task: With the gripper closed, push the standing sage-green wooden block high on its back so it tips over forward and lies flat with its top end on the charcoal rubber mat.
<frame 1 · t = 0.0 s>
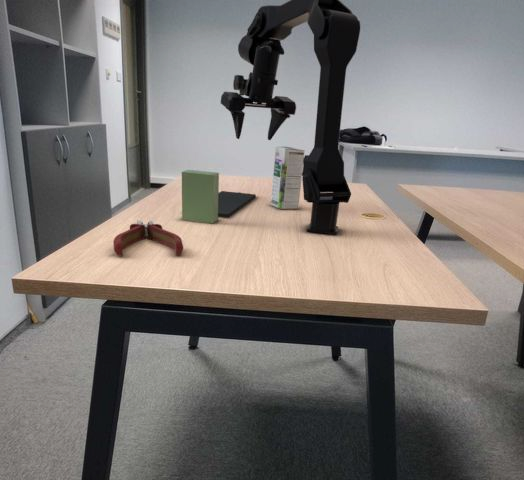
hand: (253, 139, 123), 15 cm above the table, tool pointing down, fingers open, 9 cm apart
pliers: (155, 243, 86), on the table
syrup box: (284, 207, 124), on the table
charcoal mat: (224, 204, 122), on the table
sage block: (200, 219, 105), on the table
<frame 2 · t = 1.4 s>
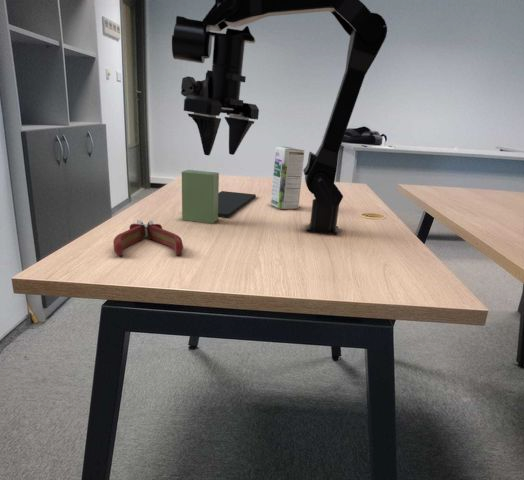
hand: (219, 154, 97), 14 cm above the table, tool pointing down, fingers open, 9 cm apart
nothing on the table moved.
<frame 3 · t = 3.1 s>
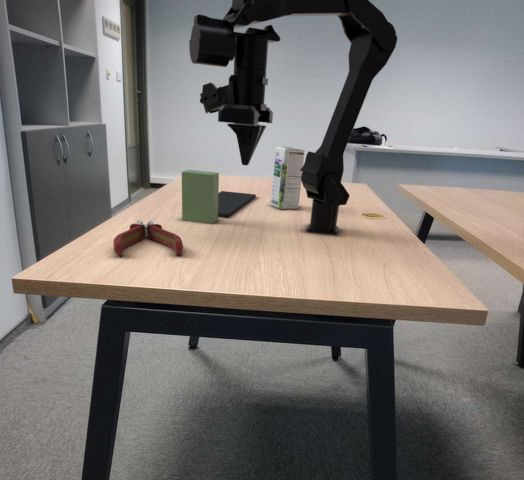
hand: (245, 165, 90), 13 cm above the table, tool pointing down, fingers closed
nothing on the table moved.
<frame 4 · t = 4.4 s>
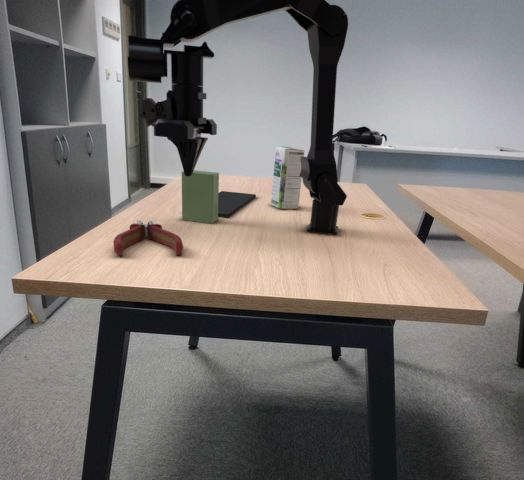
hand: (188, 175, 93), 10 cm above the table, tool pointing down, fingers closed
nothing on the table moved.
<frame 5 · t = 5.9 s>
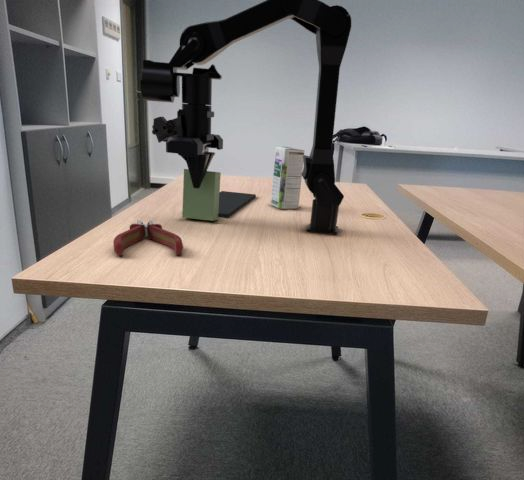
hand: (196, 188, 99), 7 cm above the table, tool pointing down, fingers closed
sage block: (200, 218, 104), on the table, tilted 8°
everything else where it was.
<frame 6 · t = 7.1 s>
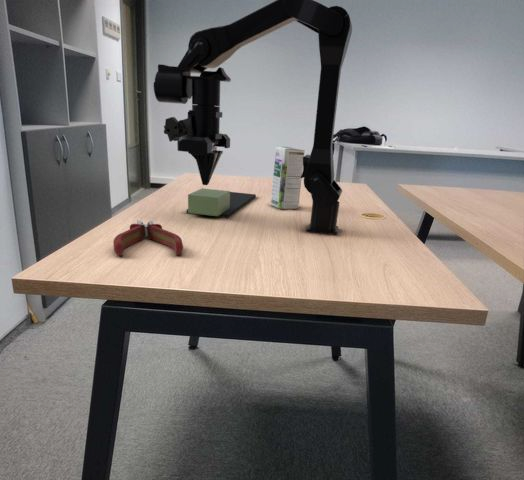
hand: (205, 184, 104), 7 cm above the table, tool pointing down, fingers closed
sage block: (202, 205, 105), point 3 cm above the table, tilted 90°, touching charcoal mat
everything else where it was.
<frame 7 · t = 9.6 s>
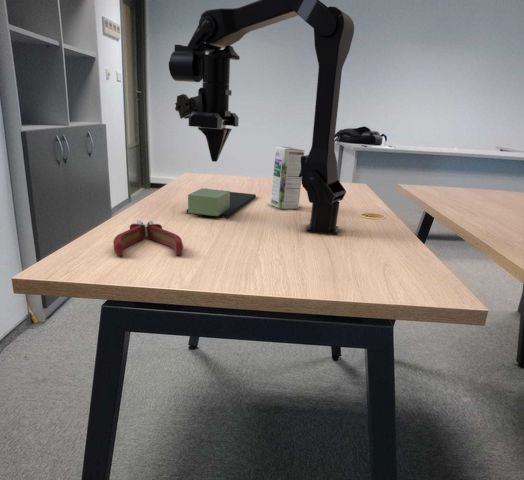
hand: (214, 161, 108), 11 cm above the table, tool pointing down, fingers closed
nothing on the table moved.
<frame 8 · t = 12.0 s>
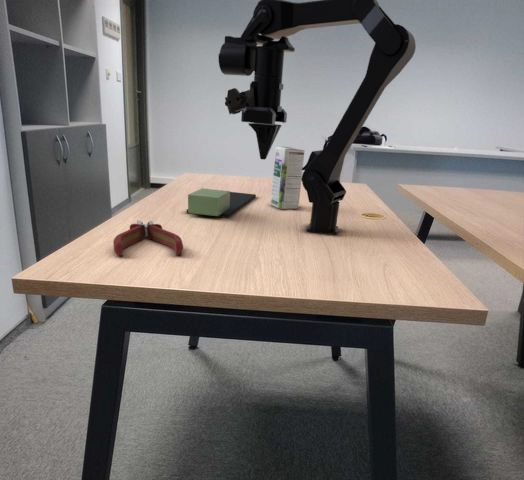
hand: (263, 159, 103), 13 cm above the table, tool pointing down, fingers closed
nothing on the table moved.
at the end: sage block tilted 90°; sage block touching charcoal mat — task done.
